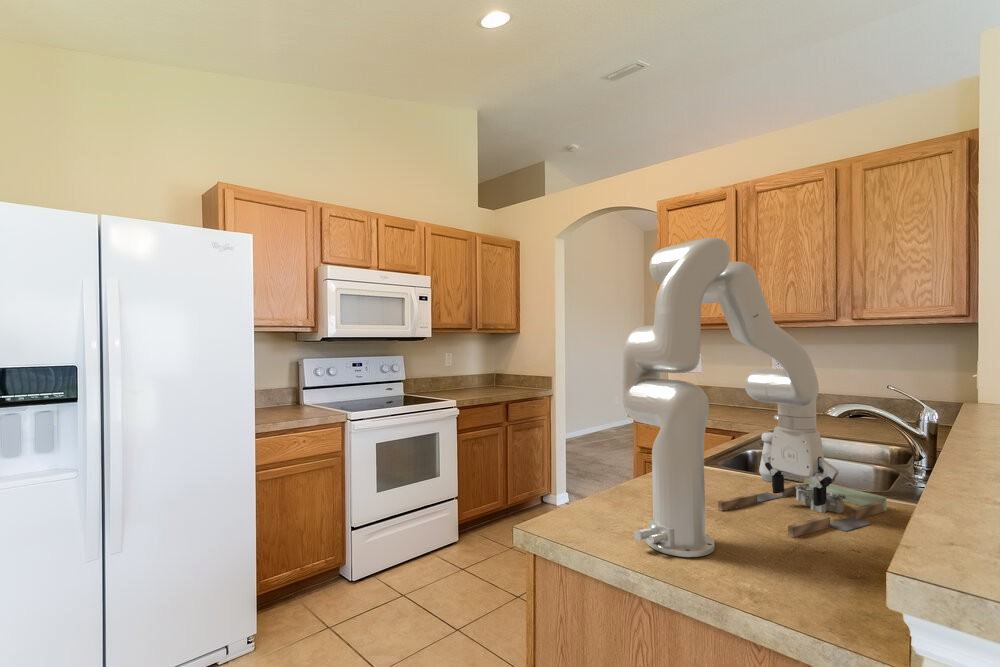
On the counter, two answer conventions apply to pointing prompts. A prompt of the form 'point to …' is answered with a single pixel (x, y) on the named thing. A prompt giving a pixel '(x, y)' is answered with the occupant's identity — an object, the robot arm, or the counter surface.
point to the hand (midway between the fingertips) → (798, 498)
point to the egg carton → (831, 504)
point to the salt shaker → (766, 448)
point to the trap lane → (867, 503)
